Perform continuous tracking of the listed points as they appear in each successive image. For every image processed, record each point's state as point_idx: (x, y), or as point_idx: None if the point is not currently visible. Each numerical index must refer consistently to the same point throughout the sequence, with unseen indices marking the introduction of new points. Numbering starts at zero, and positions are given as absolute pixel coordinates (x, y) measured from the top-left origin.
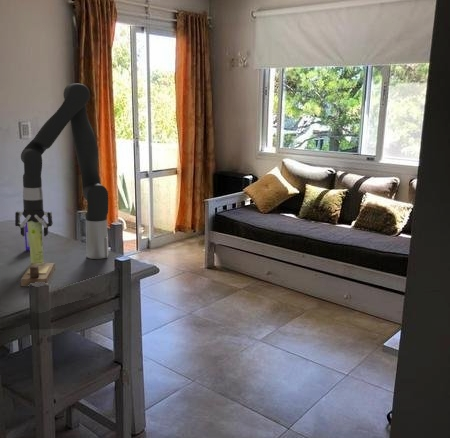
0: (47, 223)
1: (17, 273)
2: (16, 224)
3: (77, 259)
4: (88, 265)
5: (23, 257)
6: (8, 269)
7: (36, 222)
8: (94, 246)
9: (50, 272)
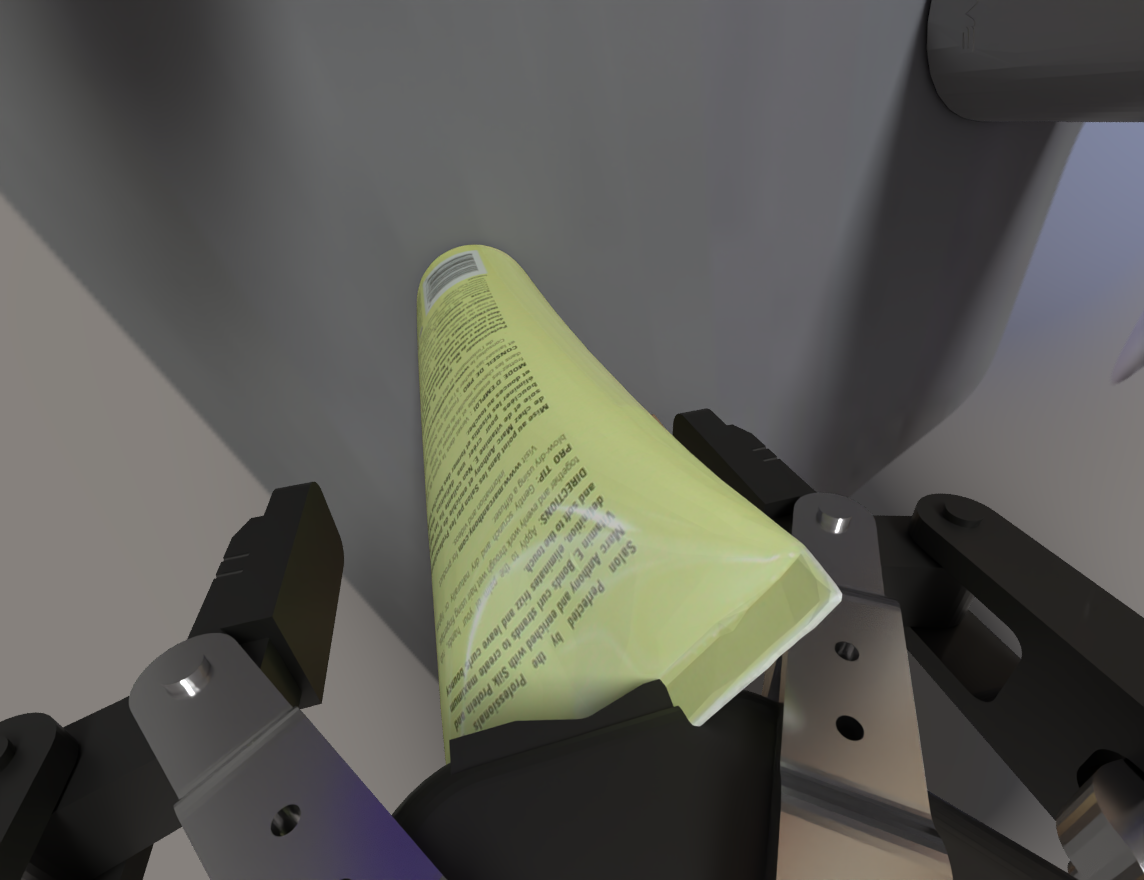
0: (885, 569)
1: (402, 512)
2: (102, 874)
3: (825, 117)
4: (885, 295)
5: (162, 9)
6: (271, 449)
7: (638, 686)
8: (1118, 120)
9: None
